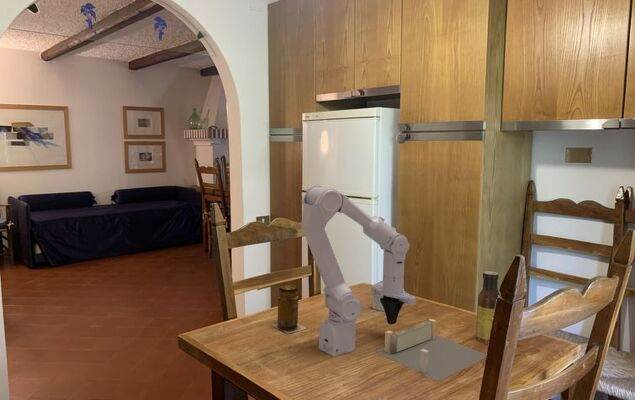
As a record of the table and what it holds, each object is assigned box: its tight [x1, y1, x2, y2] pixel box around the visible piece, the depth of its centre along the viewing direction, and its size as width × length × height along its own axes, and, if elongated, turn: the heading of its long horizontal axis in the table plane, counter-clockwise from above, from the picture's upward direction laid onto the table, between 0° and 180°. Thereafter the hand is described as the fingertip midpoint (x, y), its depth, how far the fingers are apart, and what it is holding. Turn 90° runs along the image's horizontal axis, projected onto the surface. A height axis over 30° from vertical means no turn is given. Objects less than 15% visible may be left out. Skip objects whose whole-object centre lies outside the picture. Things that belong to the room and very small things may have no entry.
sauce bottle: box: [475, 270, 500, 345], centre depth 128 cm, size 6×6×20 cm
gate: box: [391, 321, 432, 353], centre depth 123 cm, size 15×1×5 cm, turn 129°
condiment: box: [271, 284, 308, 334], centre depth 136 cm, size 7×8×12 cm
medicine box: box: [372, 280, 385, 313], centre depth 155 cm, size 8×4×9 cm, turn 143°
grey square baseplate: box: [374, 318, 487, 383], centre depth 119 cm, size 22×20×6 cm
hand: (391, 323), depth 128 cm, fingers closed
